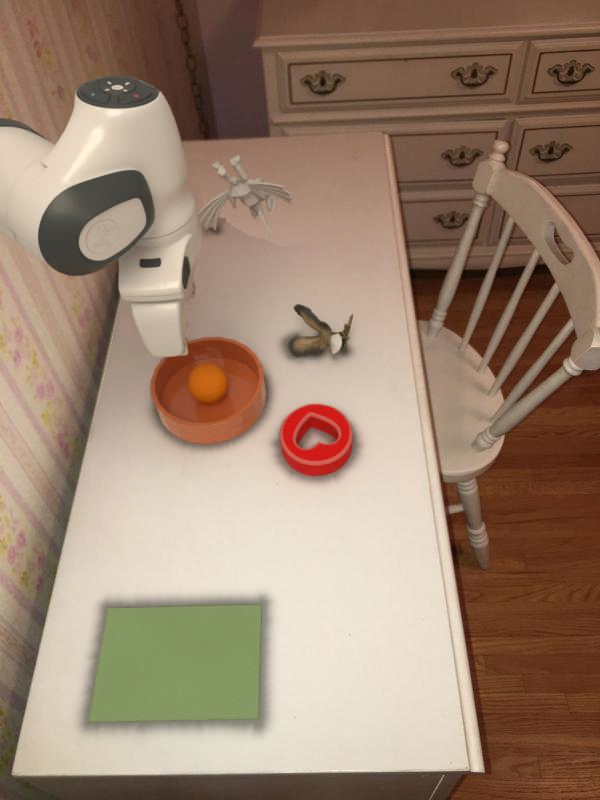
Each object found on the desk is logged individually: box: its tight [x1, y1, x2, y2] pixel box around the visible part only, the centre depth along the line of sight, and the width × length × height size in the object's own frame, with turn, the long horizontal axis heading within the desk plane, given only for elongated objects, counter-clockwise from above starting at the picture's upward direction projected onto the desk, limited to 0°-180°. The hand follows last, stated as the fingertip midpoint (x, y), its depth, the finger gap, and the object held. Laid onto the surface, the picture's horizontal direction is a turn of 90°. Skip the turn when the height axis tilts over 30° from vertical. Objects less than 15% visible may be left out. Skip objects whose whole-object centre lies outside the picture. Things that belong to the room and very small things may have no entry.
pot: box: [150, 336, 267, 445], centre depth 91 cm, size 16×16×4 cm
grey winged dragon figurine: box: [198, 154, 295, 239], centre depth 109 cm, size 10×18×14 cm, turn 85°
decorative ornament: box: [279, 403, 354, 477], centre depth 86 cm, size 10×10×3 cm
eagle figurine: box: [286, 303, 354, 357], centre depth 95 cm, size 8×7×9 cm
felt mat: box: [88, 604, 263, 723], centre depth 71 cm, size 18×12×1 cm, turn 90°
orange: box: [188, 364, 228, 405], centre depth 90 cm, size 6×6×6 cm
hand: (185, 321), depth 79 cm, fingers open, 8 cm apart
